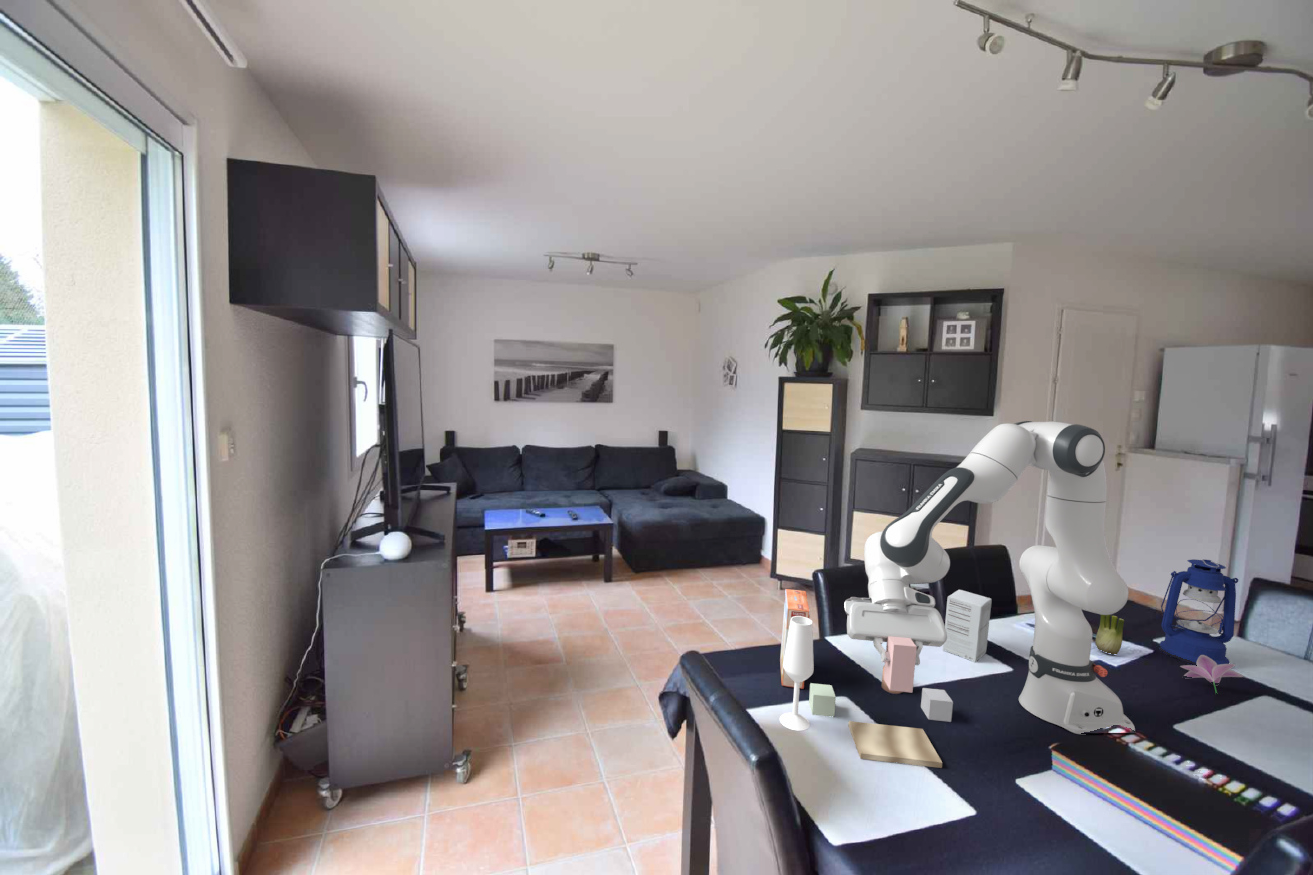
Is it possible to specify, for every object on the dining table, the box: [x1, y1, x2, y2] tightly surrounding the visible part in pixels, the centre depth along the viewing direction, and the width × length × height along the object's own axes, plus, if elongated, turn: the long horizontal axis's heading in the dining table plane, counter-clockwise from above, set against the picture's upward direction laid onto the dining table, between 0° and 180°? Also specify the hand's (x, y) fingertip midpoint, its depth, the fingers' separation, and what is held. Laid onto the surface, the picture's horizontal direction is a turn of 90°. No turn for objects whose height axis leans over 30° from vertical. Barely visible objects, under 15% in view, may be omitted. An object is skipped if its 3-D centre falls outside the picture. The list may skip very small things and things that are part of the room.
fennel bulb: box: [1094, 614, 1125, 655], centre depth 164 cm, size 6×5×12 cm
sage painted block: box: [808, 682, 837, 718], centre depth 129 cm, size 5×5×5 cm
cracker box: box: [779, 588, 811, 690], centre depth 144 cm, size 14×6×21 cm, turn 168°
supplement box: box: [942, 589, 992, 663], centre depth 161 cm, size 10×9×17 cm
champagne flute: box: [779, 616, 815, 732], centre depth 123 cm, size 7×7×24 cm
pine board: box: [847, 720, 943, 769], centre depth 117 cm, size 16×11×1 cm
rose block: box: [884, 636, 917, 693], centre depth 116 cm, size 4×4×10 cm
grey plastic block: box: [920, 687, 954, 723], centre depth 129 cm, size 5×5×5 cm
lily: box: [1179, 655, 1245, 694], centre depth 145 cm, size 12×12×10 cm
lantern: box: [1159, 559, 1239, 665], centre depth 163 cm, size 17×15×30 cm
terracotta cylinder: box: [881, 665, 903, 695], centre depth 140 cm, size 5×5×5 cm
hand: (900, 663), depth 115 cm, fingers closed on rose block, 4 cm apart
